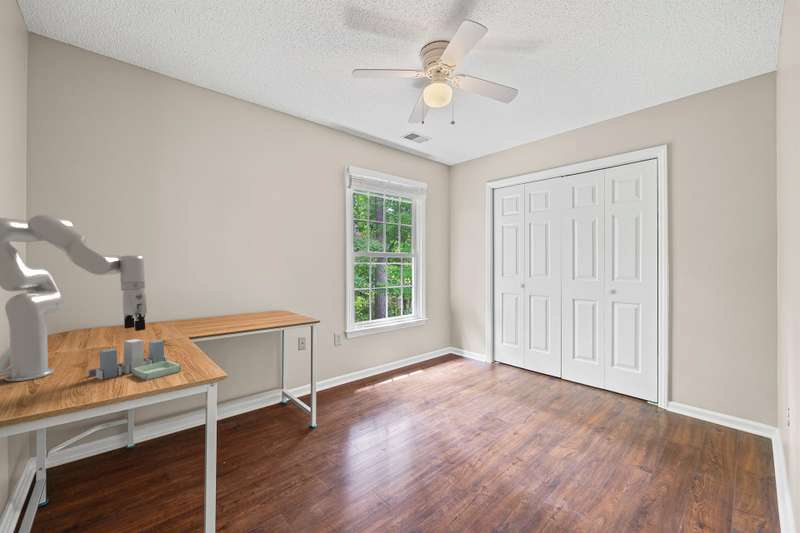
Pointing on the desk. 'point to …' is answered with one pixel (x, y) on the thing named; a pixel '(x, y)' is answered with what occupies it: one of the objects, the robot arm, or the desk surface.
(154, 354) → the fuse right
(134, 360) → the skincare box
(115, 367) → the block
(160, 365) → the tray
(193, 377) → the desk surface
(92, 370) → the clip block
